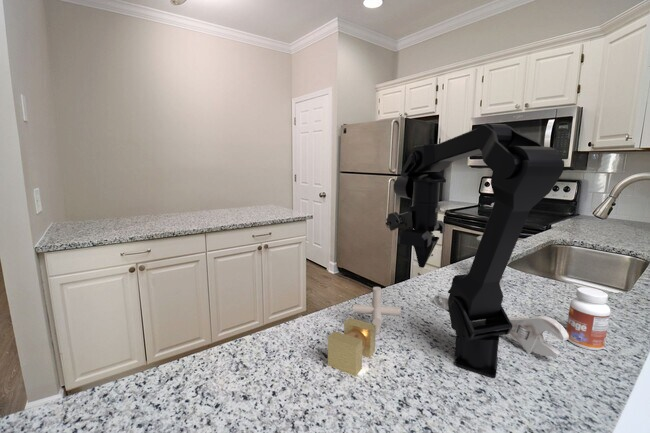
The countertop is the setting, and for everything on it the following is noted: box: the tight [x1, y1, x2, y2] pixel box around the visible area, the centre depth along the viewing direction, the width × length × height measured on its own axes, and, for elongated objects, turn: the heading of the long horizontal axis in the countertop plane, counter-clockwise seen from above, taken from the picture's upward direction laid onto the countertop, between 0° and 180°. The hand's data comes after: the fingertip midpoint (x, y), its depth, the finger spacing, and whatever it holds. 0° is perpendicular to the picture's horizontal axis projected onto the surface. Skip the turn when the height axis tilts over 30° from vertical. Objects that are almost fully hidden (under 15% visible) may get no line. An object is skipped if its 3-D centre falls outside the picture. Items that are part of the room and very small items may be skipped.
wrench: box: [433, 293, 569, 358], centre depth 67 cm, size 8×2×30 cm
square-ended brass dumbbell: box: [327, 317, 376, 377], centre depth 57 cm, size 8×6×6 cm, turn 148°
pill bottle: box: [565, 286, 611, 351], centre depth 62 cm, size 6×6×11 cm
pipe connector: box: [352, 286, 402, 335], centre depth 66 cm, size 10×10×10 cm
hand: (421, 267), depth 72 cm, fingers closed
